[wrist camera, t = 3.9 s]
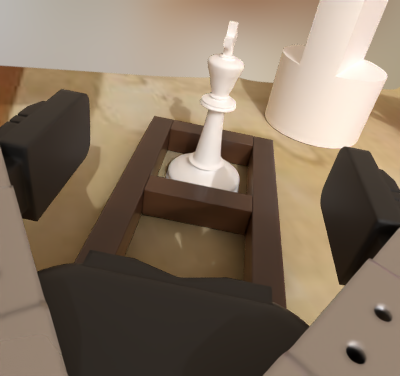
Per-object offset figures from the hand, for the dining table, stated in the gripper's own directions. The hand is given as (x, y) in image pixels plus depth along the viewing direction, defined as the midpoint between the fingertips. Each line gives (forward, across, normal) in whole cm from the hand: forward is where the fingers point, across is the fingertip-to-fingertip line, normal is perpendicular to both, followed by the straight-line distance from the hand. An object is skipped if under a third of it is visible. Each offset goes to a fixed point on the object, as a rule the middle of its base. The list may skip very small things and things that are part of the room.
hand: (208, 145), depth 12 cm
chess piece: (+10, 0, +8) cm, 13 cm away
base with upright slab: (+23, -9, +8) cm, 26 cm away
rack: (+6, 0, +8) cm, 10 cm away
